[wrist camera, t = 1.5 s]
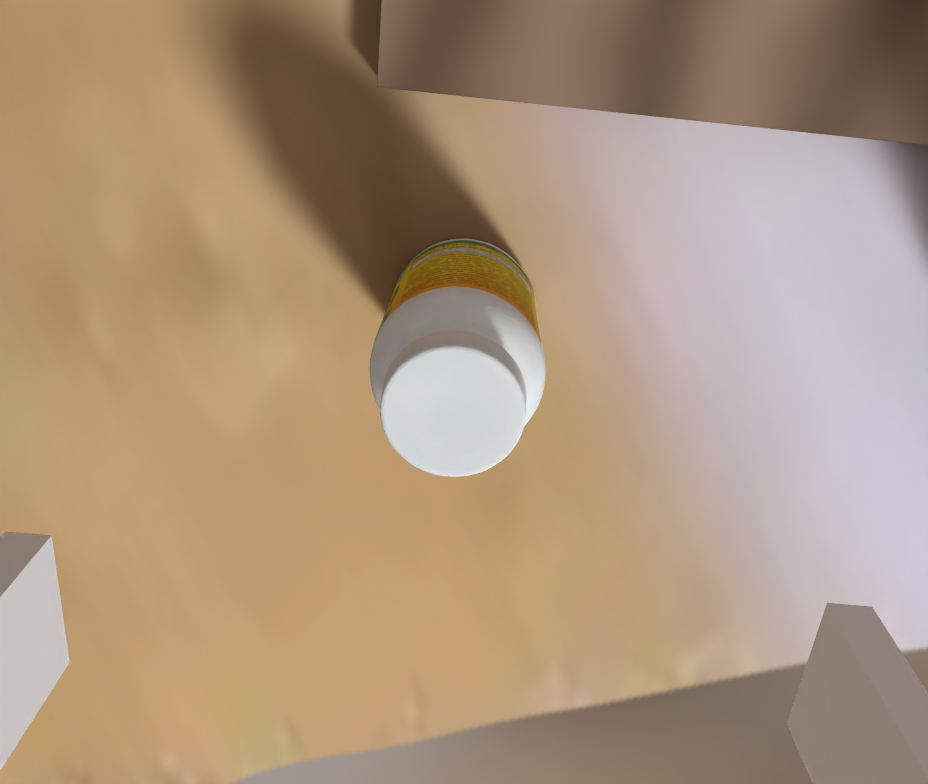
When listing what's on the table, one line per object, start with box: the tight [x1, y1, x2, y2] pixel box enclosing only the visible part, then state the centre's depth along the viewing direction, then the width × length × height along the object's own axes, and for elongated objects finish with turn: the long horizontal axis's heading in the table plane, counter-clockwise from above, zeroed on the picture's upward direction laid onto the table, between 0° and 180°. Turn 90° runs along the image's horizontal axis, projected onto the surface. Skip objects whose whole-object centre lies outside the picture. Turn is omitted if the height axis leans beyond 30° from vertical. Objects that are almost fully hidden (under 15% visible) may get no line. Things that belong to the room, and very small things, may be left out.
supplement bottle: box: [370, 238, 546, 477], centre depth 27 cm, size 5×5×10 cm
